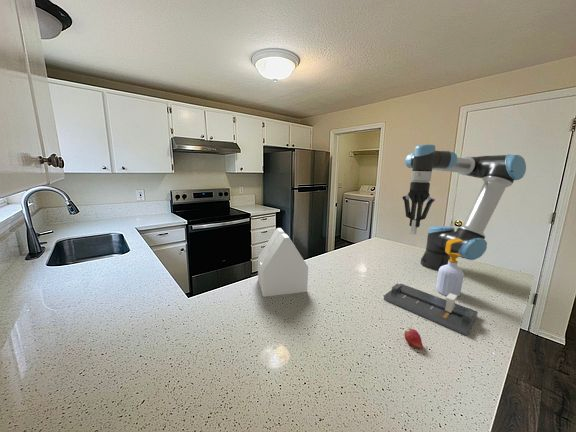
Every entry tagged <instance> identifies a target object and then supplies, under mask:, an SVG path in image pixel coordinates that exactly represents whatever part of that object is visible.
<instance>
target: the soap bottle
mask: <svg viewBox="0 0 576 432" xmlns="http://www.w3.org/2000/svg"><path fill="white" fill-rule="evenodd" d="M459 242H463V240H461V239H459V238H457V239H451V240H448V241H447V242H446V248H445V252H446V253H447V254H448V255H450V258H451V259H449V260H448V264H447V265H443V266H441V267H440V268H439V271H438V270H437V272H438V273H437V279H436V283H435V284H436V286H435V290H436V291H437V292H438V294H439V293H440V294H441V295H444V296H445V297H447V296H448V294H449V293H451V294H454V295H457V298H458V297H460V296H461V292H462V287H463V282H464V278H465V277H464V276H465V274H464V272H463V270H462V269H461V268H460V267H458V260H457V259H458V258H461V257H462V256H461V255H460V254H458V253H450V252H451V246H452V245H453V244H454V243H459Z"/></svg>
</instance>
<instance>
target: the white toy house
mask: <svg viewBox="0 0 576 432" xmlns="http://www.w3.org/2000/svg"><path fill="white" fill-rule="evenodd" d="M257 281H258V284H259V285H258V286H259V289H260V292H261V294H262V297H263V298H264V297H272V296H282V295H290V294H300V293H307V292H308V281H309V266H308V264H307V263H306V261H305V259H304V258H303V256H302V255H301V254H300V252H299V250H298V249H297V247H296V245H295V244H294V242H293V241H292V239H291V238H290V236H289V235H288V234H287V233H285V231H284V230H283V229H282V227H277V228H275V230H274V232H273V233H272V235H271V237H270V238H269V240H268V241H267V242H266V244H265V246H264V247H263V249H262V250H261V252H260V254H259V255H258V257H257Z"/></svg>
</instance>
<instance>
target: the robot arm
mask: <svg viewBox="0 0 576 432" xmlns="http://www.w3.org/2000/svg"><path fill="white" fill-rule="evenodd" d="M404 161H405V162H404V164H405V166H406V167H407V168H409V169H412V170H411V177H410V178H411V179H410V180H411V182H410V183H409V192H408V193H407V194H406V195H403V196H402V197H401V198H402V199H403V201H404V210H405V217H406V218H409V225H408V226H410V234H411V235H416V234H417V229H418V228H419V227H420V226H421V221H423V220H426V218H427V216H428V214H429V212H430V211H429V210H430V208H431V207H432V204H433V203H434V202H435V201H436V199H435V198H433V197H431V196H430V186H431V183H430V182H431V179H432V173H433V171H441V172H450V173H451V172H452V173H457V174H459V175H462V176H468V177H473V178H476V179H482V181H483V184H482V186H481V188H480V190H479V192H478V194H477V197H476V199H475V201H474V202H473V204H472V206H471V208H470V210H469V212H468V215H467V217H466V218H465V221H464V223H463V225H461V226H458V227H457V228H456V229H455V227H453V226H448V225H433V226H430V227H428V228H429V229H428V232H427V237H426V238H427V239H426V246H425V251H424V252H423V254H422V257H421V258H420V263H419V264H420V265H421V266H423V267H424V268H428V269H430V270H434V271H437V272H438V271H439V268H440V267H441V266H443V265H447V264H448V260H449V259H451V257H450V255H448V254H447V253H446V252H445V248H446V242H447V241H448V240H451V239H457V238H459V239H461V240H463V242H459V243H454V244H453V245H452V246H451V252H450V253H458V254H460V255H461V256H462V257H460V258H461V259H465V260H469V261H475V260H477V259H479V258H481V257H482V256H483V255H484V254H485V253H486V250H487V248H488V242H487V240H485V239H486V235H485V233H484V232H485V229H486V228H487V225H488V224H489V222H490V220H491V218H492V217H493V216H492V215H494V214H493V213H494V212H495V210H496V209H497V206H498V204H499V202H500V200H501V199H502V196H503V194H504V192H505V191H506V188H509V187H512V186H513V183H514V181H519V180H521V179H523V178H524V176H525V174H526V170H527V164H526V163H527V162H526V160H525V158H524V157H523V156H522V155H519V154H509V153H508V154H500V155H480V156H465V157H458V155H457V154H456V152H453V151H450V150H436V145H434V144H418V145H417V146H415V148H414V152H411V153H408V155H407V156H406V158H405V160H404ZM410 201H411V203H410ZM424 202H426V205H425V207H424ZM410 204H411V206H410ZM423 207H424V208H423ZM423 209H424V210H423ZM455 230H456V231H455Z"/></svg>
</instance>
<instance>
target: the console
mask: <svg viewBox="0 0 576 432" xmlns="http://www.w3.org/2000/svg"><path fill="white" fill-rule="evenodd" d="M383 300H384V301H386V302H388V303H391V304H393V305H395V306H397V307H400V308H401V309H403V310H407V311H408V312H411V313H413V314H416V315H418V316H420V317H423V318H424V319H427V320H430V321H432V322H434V323H436V324H438V325H441V326H443V327H446V329H447V328H448V329H450V330H452V331H455V332H456V333H460V334H461V335H464V336H468V333H469V332H470V330H471V328H472V326H473V325H474V323H475V321H476V319H477V317H478V313H479V312H478V311H477V310H475V309H471V308H469V307H466V306H464V305H460V304H458V303H456V302H455V305H454V310H453V311H452V312H448V311H446V310H445V306H446V301H447V300H446V298H442V297H438V296H436V295H434V294H430V293H428V292H425V291H422V290H420V289H417V288H414V287H411V286H409V285H407V284H404V283H400V284H399V283H396V284H395V285H393V286H391V290H389V291H388V292H386V293H385V294H384V295H383Z"/></svg>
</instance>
